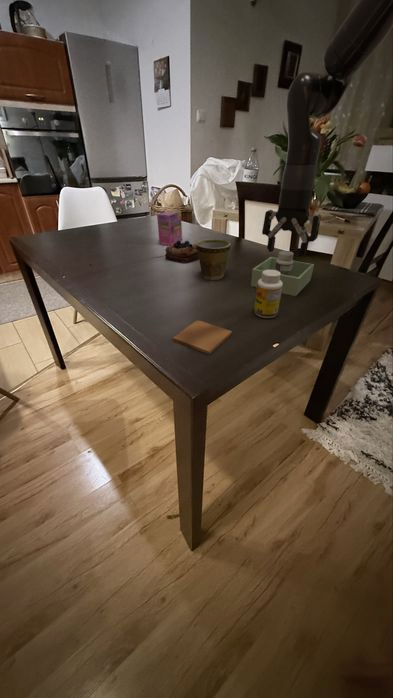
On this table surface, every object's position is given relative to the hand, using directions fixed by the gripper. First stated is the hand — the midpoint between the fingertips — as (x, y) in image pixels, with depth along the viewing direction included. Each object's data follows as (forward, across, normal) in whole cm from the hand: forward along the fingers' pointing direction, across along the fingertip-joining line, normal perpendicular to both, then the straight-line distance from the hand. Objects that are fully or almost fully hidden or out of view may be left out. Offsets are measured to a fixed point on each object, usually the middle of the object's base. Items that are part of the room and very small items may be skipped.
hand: (285, 253), depth 78 cm
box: (+9, +56, -18) cm, 59 cm away
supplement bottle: (+9, -4, +20) cm, 22 cm away
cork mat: (+8, +3, +37) cm, 38 cm away
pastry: (+9, +39, -4) cm, 40 cm away
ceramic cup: (+9, +21, +5) cm, 23 cm away
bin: (+9, 0, 0) cm, 9 cm away
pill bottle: (+8, 0, 0) cm, 8 cm away
